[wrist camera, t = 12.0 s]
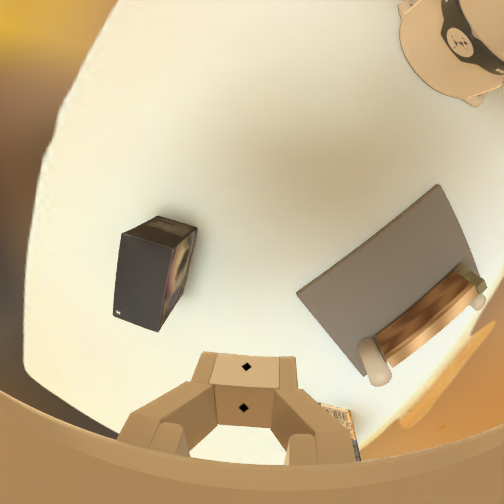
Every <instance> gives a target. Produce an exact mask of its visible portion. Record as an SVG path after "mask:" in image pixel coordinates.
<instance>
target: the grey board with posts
mask: <svg viewBox="0 0 504 504" xmlns="http://www.w3.org/2000/svg"><path fill="white" fill-rule="evenodd" d="M459 264H461V265H463V266H464V267H466V268H467V269H469V270H470V271H472V272H473V273H475V274H476V275H478V276H479V277H480V275H479V272H478V270H477V267H476V264H475V261H474V259H473V256H472V253H471V251H470V248H469V246H468V243H467V241H466V238H465V236H464V234H463V231H462V229H461V227H460V224H459V222H458V220H457V218H456V216H455V213H454V211H453V209H452V207H451V205H450V203H449V201H448V199H447V197H446V195H445V193H444V191H443V189H442V187H441V185H438V184H436V185H435V186H434V187H433V188H432V189H431V190H429V191H428V192H427V193H426V194H425V195H423V196H422V197H421V198H420V199H419V200H417V201H416V202H415V203H414V204H413V205H411V206H410V207H409V208H408V209H406V210H405V211H404V212H403V213H402V214H400V215H399V216H398V217H397V218H395V219H394V220H393V221H392V222H390V223H389V224H388V225H386V226H385V227H384V228H383V229H381V230H380V231H379V232H378V233H376V234H375V235H374V236H372V237H371V238H370V239H369V240H367V241H366V242H365V243H363V244H362V245H361V246H359V247H358V248H357V249H355V250H354V251H353V252H351V253H350V254H349V255H347V256H346V257H345V258H343V259H342V260H341V261H339V262H338V263H337V264H335V265H334V266H333V267H331V268H330V269H328V270H327V271H326V272H324V273H323V274H322V275H320V276H319V277H317V278H316V279H315V280H313V281H312V282H310V283H309V284H308V285H306V286H305V287H303V288H302V289H301V290H299V291H298V292H296V294H297V296H298V298H299V299H300V300H301V301H302V303H303V304H304V305H305V306H306V307H307V309H308V310H309V311H310V312H311V313H312V315H313V316H314V317H315V318H316V320H317V321H318V322H319V323H320V324H321V326H322V327H323V328H324V329H325V331H326V332H327V333H328V334H329V335H330V337H331V338H332V339H333V340H334V342H335V343H336V344H337V345H338V346H339V348H340V349H341V350H342V351H343V353H344V354H345V355H346V356H347V357H348V359H349V360H350V361H351V362H352V364H353V365H354V366H355V367H356V368H357V370H358V371H359V372H360V373H361V375H362V376H363V377H364V376H365V375H367V374H368V377H369V380H370V383H371V384H372V385H373V386H375V387H380V386H383V385H385V384H387V383H388V382H389V381H390V379H391V377H392V373H391V371H390V369H389V367H388V365H387V363H386V362H387V360H386V358H385V356H384V354H383V352H382V350H381V348H380V346H379V344H378V342H377V340H376V338H375V336H376V335H377V334H379V333H380V332H381V331H382V330H384V329H385V328H386V327H388V326H389V325H390V324H392V323H393V322H394V321H395V320H397V319H398V318H399V317H400V316H402V315H403V314H404V313H405V312H407V311H408V310H409V309H410V308H411V307H413V306H414V305H415V304H416V303H417V302H419V301H420V300H421V299H422V298H423V297H424V296H425V295H427V294H428V293H429V292H430V291H431V290H432V289H433V288H435V287H436V286H437V285H438V284H439V283H440V282H441V281H442V280H443V279H444V278H445V277H447V276H448V275H449V274H450V273H451V272H452V271H453V270H454V269H455V268H456V267H457V266H458V265H459ZM485 302H486V297H485V296H484V295H483V294H482V293H481V295H479V294H478V296H477V297H476V298H475V299H474V300H473V301H472V302H471V303H470V304H469V305H470V306H472V307H473V308H474V309H475V310H480V309H481V308H482V307H483V306H484V304H485Z"/></svg>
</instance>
